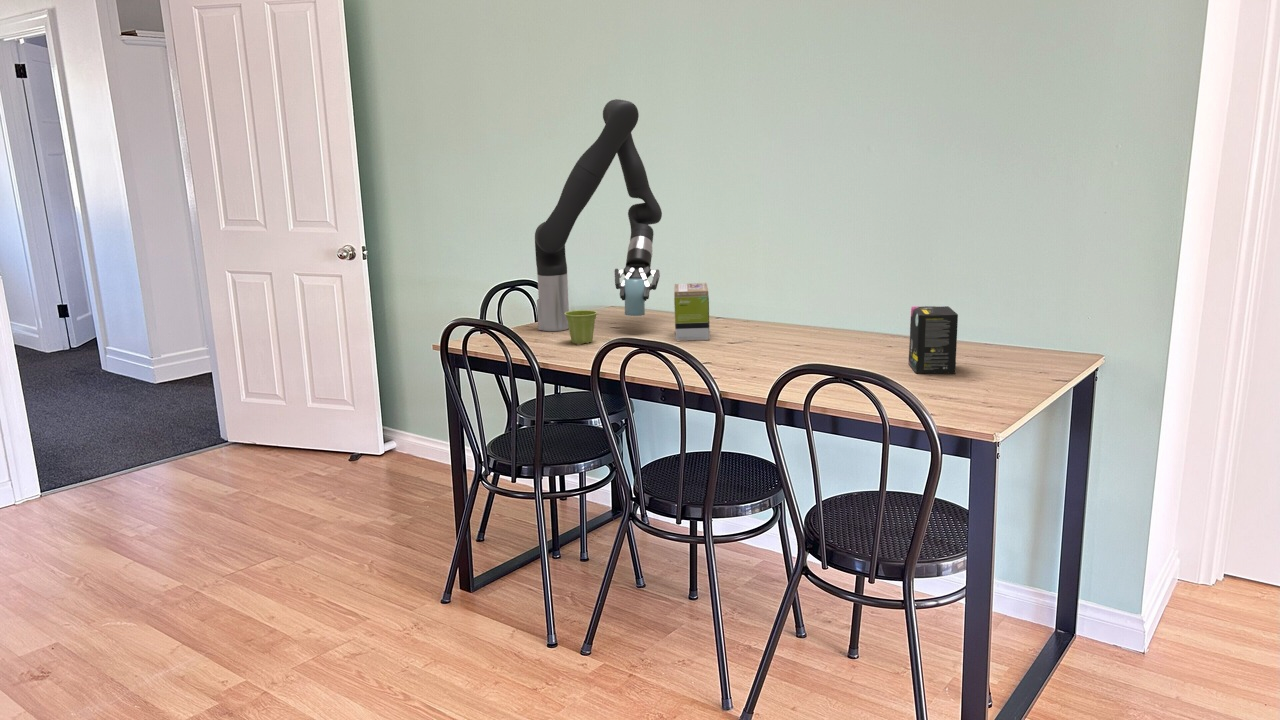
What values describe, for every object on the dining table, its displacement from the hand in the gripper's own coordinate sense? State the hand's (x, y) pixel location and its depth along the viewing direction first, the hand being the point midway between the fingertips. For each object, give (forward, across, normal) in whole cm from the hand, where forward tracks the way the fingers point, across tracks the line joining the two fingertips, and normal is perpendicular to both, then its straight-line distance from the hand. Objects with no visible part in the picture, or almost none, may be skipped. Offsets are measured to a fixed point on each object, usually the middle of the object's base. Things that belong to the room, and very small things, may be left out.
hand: (633, 298), depth 272 cm
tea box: (+9, +18, +6) cm, 21 cm away
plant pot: (+16, -14, 0) cm, 21 cm away
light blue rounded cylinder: (+2, 0, +5) cm, 5 cm away
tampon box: (+36, +79, -23) cm, 90 cm away
